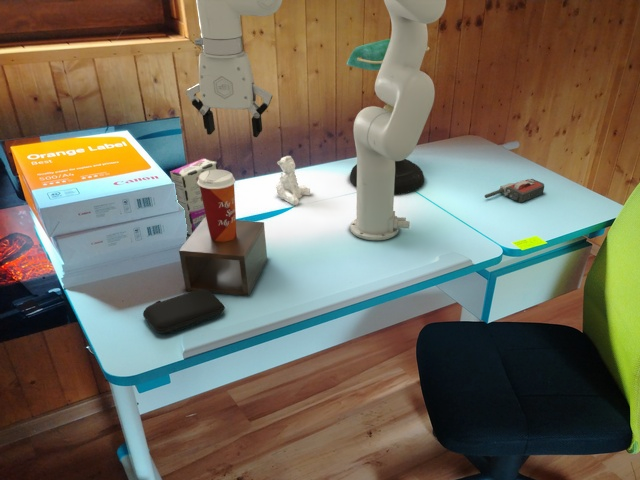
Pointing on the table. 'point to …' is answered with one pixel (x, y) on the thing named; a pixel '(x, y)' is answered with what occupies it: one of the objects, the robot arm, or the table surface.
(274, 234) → the table surface
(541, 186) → the walkie-talkie
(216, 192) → the paper cup
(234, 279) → the shelf
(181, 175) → the candy bar box
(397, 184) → the banker's lamp
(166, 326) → the carrying case
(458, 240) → the table surface
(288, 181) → the seated beast figurine
